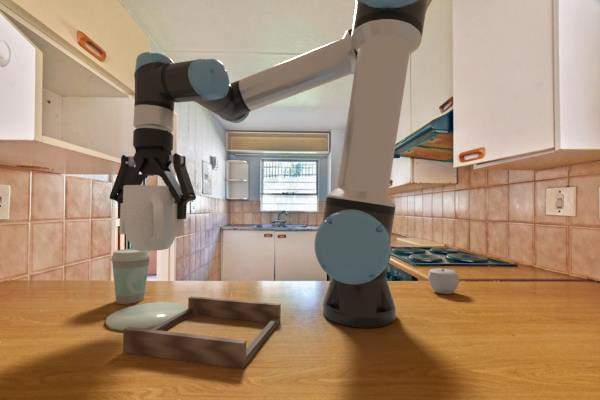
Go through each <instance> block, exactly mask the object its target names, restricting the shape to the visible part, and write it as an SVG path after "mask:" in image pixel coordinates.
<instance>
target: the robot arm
mask: <svg viewBox="0 0 600 400" xmlns="http://www.w3.org/2000/svg"><path fill="white" fill-rule="evenodd" d="M428 1H429V0H355V9H354V15H353V22H352V28H350V29H346V31H345V33H344V35H343V36H342V38H340V39H337V40H335V41H332V42H329V43H327V44H325V45H322V46H319V47H317V48H314V49H312V50H310V51H308V52H305V53H303V54H300V55H297V56H295V57H293V58H290V59H287V60H285V61H283V62H281V63H278V64H275V65H273V66H271V67H268V68H266V69H264V70H261V71H259V72H257V73H253V74H251V75H249V76H247V77H243V78H242V79H239V80H236V81H234V82H231V83H230V79H229V78H230V77H229V74H228V71H227V70H226V69H225V65H224V64H223V62H222V61H220V60H218V59H217V58H198V59H194V60H192V59H191V60H186V61H180V62H174V61H173V59H171V58H170V57H169V56H167V55H165V54H162V53H159V52H150V51H146V52H141V53H140V54H139V55H138V56H137V57H136V60H135V69H134V74H133V75H134V77H133V78H134V104H133V106H134V109H133V124H132V125H133V127H134V128H135V129H134V130H133V131H132V132H133V133H132V134H133V136H132V145H133V147H134V150H135V153H134V155H131V156H130V155H126V154H123V155H121V157H120V166H119V169H118V172H117V175H116V178H115V179H114V183H113V186H112V189H111V192H110V194H109V199H110V200H111V201H115V202H117V204H118V206H117V210H118V211H117V213H118V214H117V216H118V217H117V218H119V235H126V232H125V228H124V227H125V226H124V221H123V220H124V219H123V187H124V186H125V185H143V184H142V183H144V180H146V179H147V178H148V177H153V176H158V177H160V178H161V179H162V181H163V183H164V184H165V186H168V187H169V191H170V193H171V194H172V196H173V198H174V199H175V202H174V203H177V204H172V224H171V236H176V237H179V236H180V237H181V236H183V234H184V220H186V219H187V212H188V211H187V207H188V206H187V205H188V203H189V202H193V201H196V199H197V196H196V193H195V192H196V191H194V186H193V185H192V182H191V178H190V174H189V172H188V168H187V166H186V163H187V160H186V156H185V155H184V154H180V153H179V152H178V153H173V154H172V151H173V149H174V134H173V133H172V132H173V131H174V119H175V118H174V116H175V115H174V111H175V103H189V102H195V103H197V104H199V105H201V106H202V107H204V108H206V110H209V111H210V112H212V113H214V114H215V115H217V116H218V117H219V118H221V119H223V120H225V121H226V122H230V123H233V124H239V123H242V122H244V121H245V120H246V119H247V118H248V117H249V114H250V112H252V111H253V112H254V111H255V110H258V109H260V108H264V107H266V106H268V105H272V104H274V103H277V102H279V101H282V100H285V99H288V98H291V97H292V96H296V95H298V94H302V93H304V92H306V91H307V92H308V91H310V90H312V89H315V88H317V87H320V86H323V85H325V84H329V83H331V82H333V81H336V80H339V79H342V78H345V77H347V76H351V75H353V78H352V79H353V80H352V87H351V92H350V93H351V95H350V101H349V108H348V112H347V113H348V114H347V119H346V126H345V133H344V139H343V146H342V152H341V153H342V154H341V159H340V165H339V171H338V176H337V177H338V179H337V186H336V187H335V188H334V189H333V190H332V191H330V192H329V193H328V194H327V195H326V199H325V205H324V211H323V216H322V222H321V223H320V225H319V227H317V232H316V233H315V238H314V254H315V256H316V257H315V258H316V260H317V262H318V265H319V266H320V267H321V269H322V270H323V271H324V272H325V273H326V274H327V275H328V276H329V277H330V279H329V284H328V286H327V289H326V292H325V296H324V299H323V302H322V313H323V316H324V317H325V318H327V319H328V320H329V321H332V322H334V323H336V324H339V325H343V326H347V327H354V328H366V329H367V328H371V329H372V328H379V327H380V328H381V327H385V326H388V325H390V324H392V323H394V322H395V320H396V319H397V318H396V313H397V312H396V304H395V301H394V299H393V295H392V292H391V289H390V286H389V282H388V278H387V277H388V276H387V272H388V268H387V267H388V264H389V263H390V260H391V256H392V250H393V249H392V245H391V243H392V241H391V238H392V231H393V225H394V219H395V212H396V206H397V205H396V204H395V202H394V201H393V200H392V199H391V197H390V196H389V190H390V183H391V182H390V181H391V177H392V170H393V165H394V157H395V149H396V144H397V139H398V138H397V137H398V131H399V126H400V125H399V124H400V118H401V111H402V106H403V98H404V92H405V86H406V85H405V84H406V80H407V73H408V66H409V60H410V56H411V54H413V53H414V52H415V51H417V50H418V48H420V45H421V43H422V38H423V33H424V26H425V19H426V13H427V6H428ZM171 165H173V169H174V172H173V170H172V168H171V167H170V166H171ZM174 173H175V175H176V177H175V176H174Z"/></svg>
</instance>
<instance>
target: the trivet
mask: <svg viewBox="0 0 600 400" xmlns="http://www.w3.org/2000/svg"><path fill="white" fill-rule="evenodd" d="M187 309H188V306H187V305H186V304H184V303H180V302H172V301H171V302H170V301H158V302H155V301H154V302H147V303H140V304H136V305H135V304H134V305H131V306H128V307H127V306H126V307H124V308H122V309H121V308H120V309H119V310H117V311H115V312H112V313H111V314H109V315H108V316H107V317H106V319H105V325H106V327H107V328H108V329H110V330H113V331H117V330H118V332H123V329H125V328H127V327H135V328H143V329H152V328H154V327H156V326H157V325H159V324H161V323H163V322H165V321H167V320H168V319H170V318H172V317H174V316H176V315H177V314H179V313H181V312H183V311H185V310H187Z"/></svg>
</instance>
